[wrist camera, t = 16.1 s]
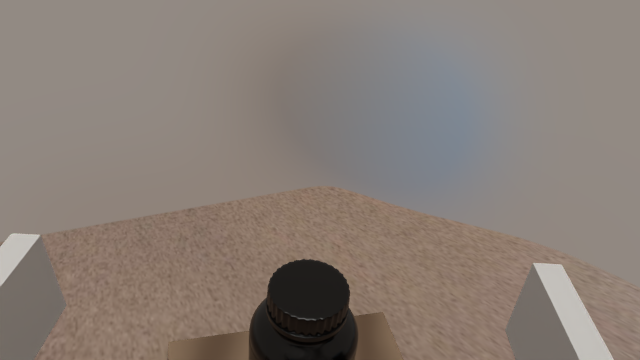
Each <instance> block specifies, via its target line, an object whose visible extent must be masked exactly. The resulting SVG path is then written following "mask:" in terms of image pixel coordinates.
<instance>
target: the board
mask: <svg viewBox="0 0 640 360" xmlns="http://www.w3.org/2000/svg"><path fill="white" fill-rule="evenodd" d="M354 317H355V320H356V322H357V326H358V333H359V338H358V346H357V351H356V356H355V360H403V357H402V355H401V353H400V350H399V348H398V346H397V343H396V341H395V339H394V337H393V334H392V332H391V330H390V327H389V325H388V323H387V320H386V318H385V316H384V313H383V312H380V313H373V314H366V315H359V316H354ZM168 360H249V331H244V332H237V333H230V334H223V335H216V336H208V337H201V338H194V339H187V340H180V341H173V342H168Z"/></svg>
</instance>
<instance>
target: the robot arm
mask: <svg viewBox="0 0 640 360" xmlns="http://www.w3.org/2000/svg"><path fill="white" fill-rule="evenodd" d="M65 307H66V303H65V300H64V297H63V294H62V292H61V289H60V286H59V284H58V281H57V278H56V275H55V273H54V270H53V267H52V265H51V262H50V259H49V256H48V254H47V251H46V248H45V246H44V243H43V240H42V237H41V235H30V234H14V233H13V234H11V235H10V236H9V237H8V238H7V240H6V241H5V242H4V243H3V244H2V245H1V247H0V360H34V359H35V357H36V355H37V354H38V352H39V350H40V349H41V347H42V345H43V344H44V342H45V340H46V339H47V337H48V335H49V334H50V332H51V330H52V329H53V327H54V325H55V324H56V322H57V320H58V319H59V317H60V315H61V314H62V312H63V310H64V309H65ZM505 331H506V334H507V336H508V339H509V342H510V345H511V348H512V350H513V353H514V356H515V359H516V360H614V359H613V357H612V356H611V354H610V352H609V350H608V348H607V346H606V345H605V343H604V341H603V339H602V337H601V336H600V334H599V332H598V330H597V328H596V326H595V325H594V323H593V321H592V319H591V317H590V316H589V314H588V312H587V310H586V308H585V306H584V305H583V303H582V301H581V299H580V297H579V295H578V294H577V292H576V290H575V288H574V286H573V285H572V283H571V281H570V279H569V277H568V275H567V274H566V272H565V270H564V268H563V266H562V265H561V264H543V263H533V264H532V266H531V269H530V271H529V274H528V276H527V278H526V281H525V283H524V286H523V288H522V290H521V293H520V295H519V298H518V300H517V303H516V305H515V307H514V310H513V312H512V315H511V317H510V319H509V322H508V324H507V327H506V329H505Z"/></svg>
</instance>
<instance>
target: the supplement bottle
mask: <svg viewBox="0 0 640 360" xmlns="http://www.w3.org/2000/svg"><path fill="white" fill-rule="evenodd" d="M349 297H350V290H349V285H348V284H347V280H346V279H345V278H344V277H343V274H341V273H340V272H339V271H338V270H337V269H335V268H334V267H333V266H331V265H328V264H326V263H324V262H320V261H314V260H311V259H310V260H305V259H303V260H296V261H294V262H289V263H288V264H285V265H283V266H282V267H281V268H278V269H277V271H276V272H275V273H273V276H272V277H271V278H270V281H269V284H268V292H267V298H266V299H264V300H263V301H262V302H261V304H260V305H259V306H258V307H257V309H256V311H255V312H254V314H253V317H252V319H251V323H250V329H249V360H355V356H356V351H357V346H358V338H359V333H358V326H357V322H356V320H355V317H354V315H353V313H352V312H351V310H350V308H349Z"/></svg>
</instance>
